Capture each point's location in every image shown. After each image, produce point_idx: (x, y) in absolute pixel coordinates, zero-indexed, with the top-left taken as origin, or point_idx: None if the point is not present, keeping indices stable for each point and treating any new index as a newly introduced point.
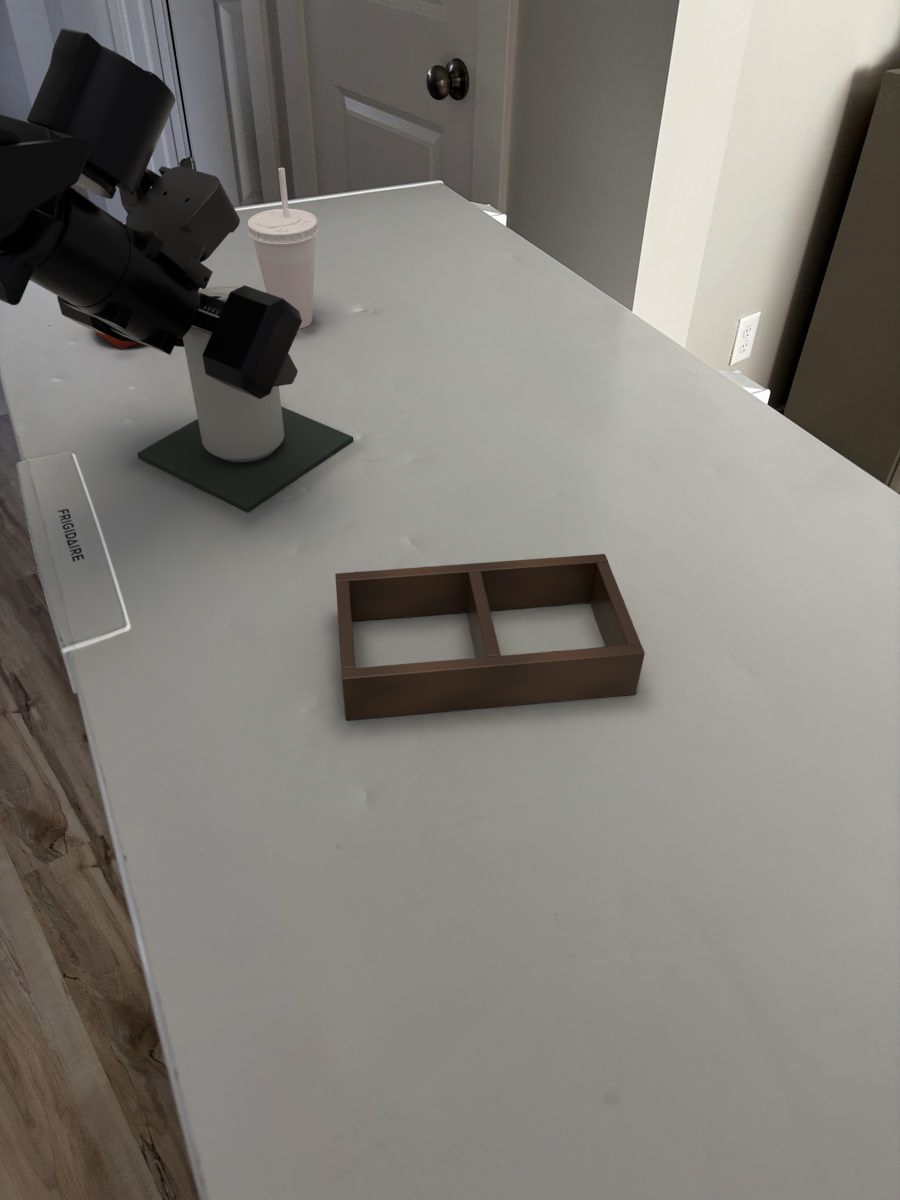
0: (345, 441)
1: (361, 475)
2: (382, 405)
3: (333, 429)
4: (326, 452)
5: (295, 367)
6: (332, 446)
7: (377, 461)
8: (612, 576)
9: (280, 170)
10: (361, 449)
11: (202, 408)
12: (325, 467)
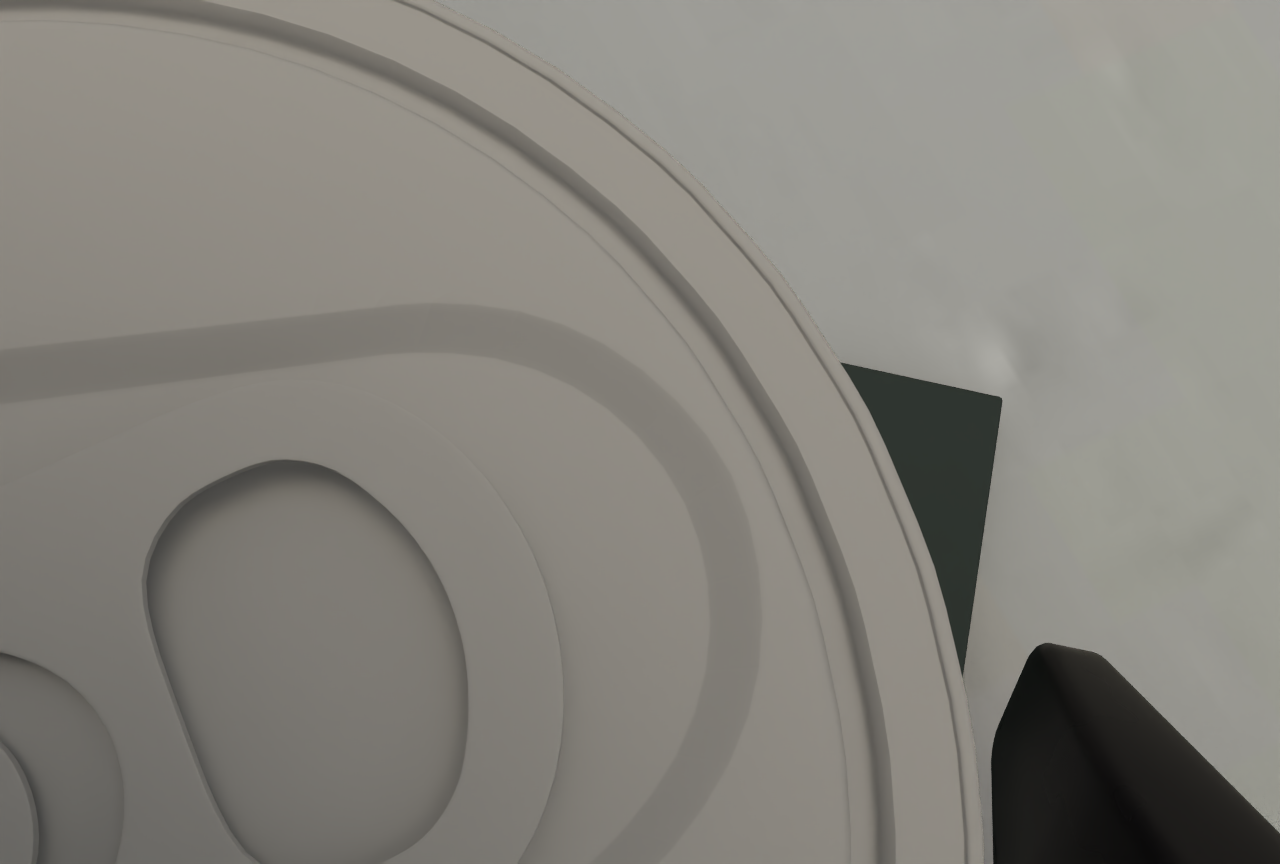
0: (992, 464)
1: (1230, 709)
2: (937, 15)
3: (856, 376)
4: (956, 620)
5: (1150, 712)
6: (950, 542)
7: (1229, 537)
8: None
9: None
10: (1079, 463)
11: None
12: (997, 725)
